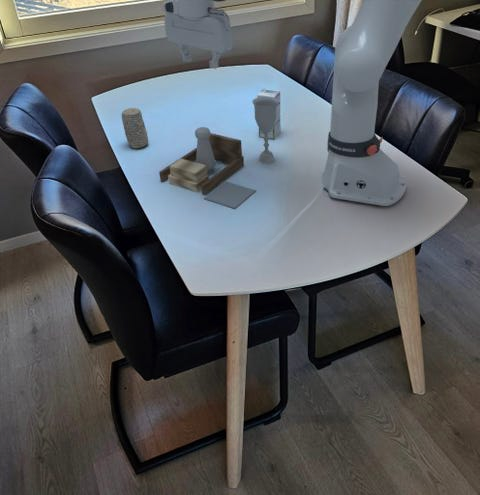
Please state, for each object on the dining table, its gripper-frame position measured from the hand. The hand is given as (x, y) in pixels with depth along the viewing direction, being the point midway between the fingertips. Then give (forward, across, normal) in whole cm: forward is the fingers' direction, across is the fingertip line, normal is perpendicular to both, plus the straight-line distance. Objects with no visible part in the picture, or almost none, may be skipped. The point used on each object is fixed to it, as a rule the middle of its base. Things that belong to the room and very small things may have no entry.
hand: (200, 64), depth 124 cm
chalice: (+30, -11, -14) cm, 35 cm away
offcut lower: (+31, -1, +10) cm, 32 cm away
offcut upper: (+28, -1, +9) cm, 29 cm away
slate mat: (+30, -15, +8) cm, 34 cm away
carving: (+31, +30, +2) cm, 43 cm away
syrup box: (+30, -1, -28) cm, 41 cm away
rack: (+30, -1, +4) cm, 30 cm away
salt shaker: (+30, 0, +1) cm, 30 cm away
